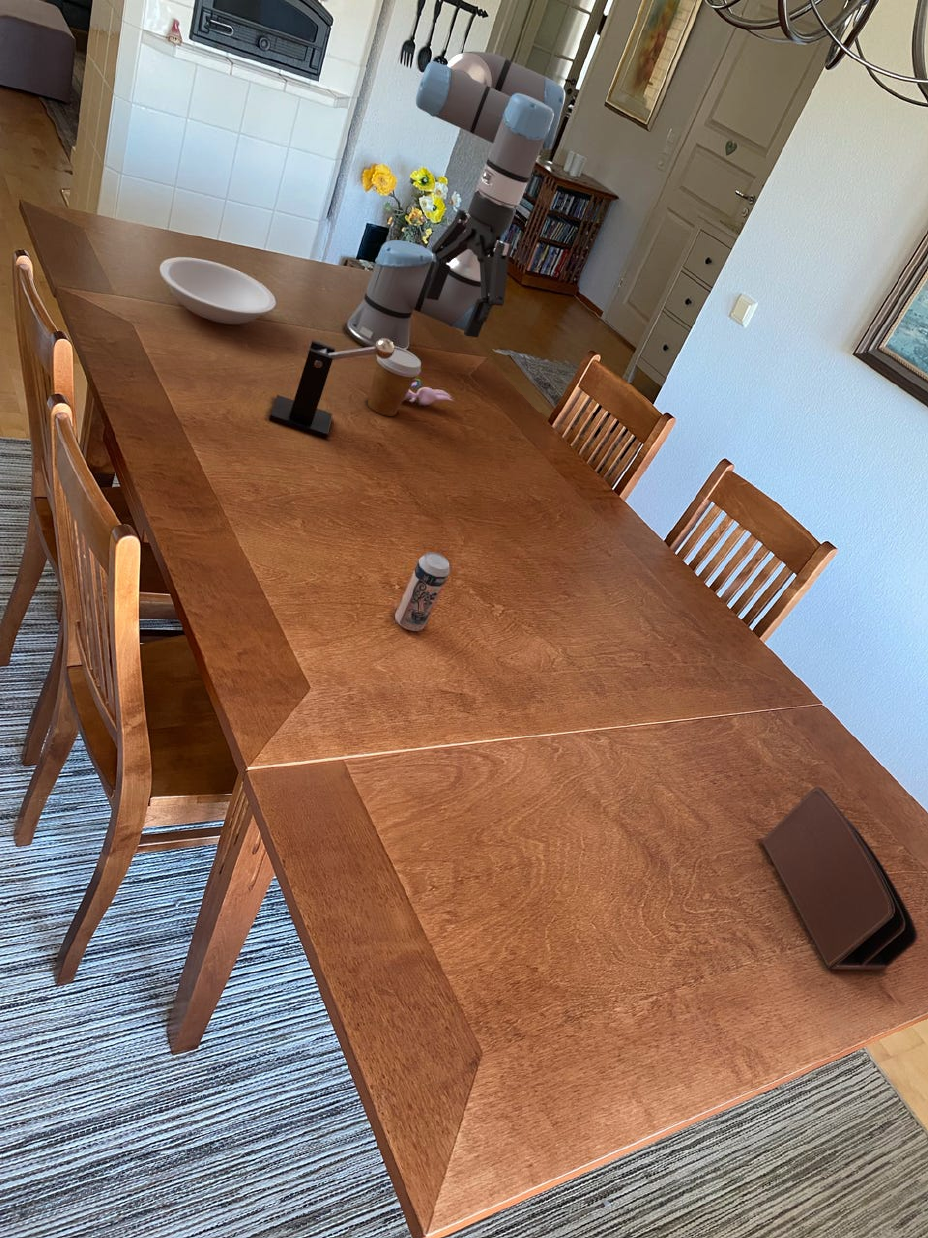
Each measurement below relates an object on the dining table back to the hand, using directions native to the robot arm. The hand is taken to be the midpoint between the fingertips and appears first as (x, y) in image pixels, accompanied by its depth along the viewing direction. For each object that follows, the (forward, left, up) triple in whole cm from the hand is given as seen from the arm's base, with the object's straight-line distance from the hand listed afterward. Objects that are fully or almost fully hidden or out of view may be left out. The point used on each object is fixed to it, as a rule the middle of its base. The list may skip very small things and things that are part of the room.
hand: (450, 316), depth 166 cm
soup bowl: (-20, -51, -29) cm, 61 cm away
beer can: (+50, +18, -29) cm, 61 cm away
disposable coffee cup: (-15, -9, -29) cm, 33 cm away
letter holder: (+67, +86, -29) cm, 113 cm away
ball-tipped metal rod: (+5, -13, -14) cm, 19 cm away
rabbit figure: (-25, -4, -29) cm, 38 cm away
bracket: (+6, -19, -28) cm, 34 cm away
